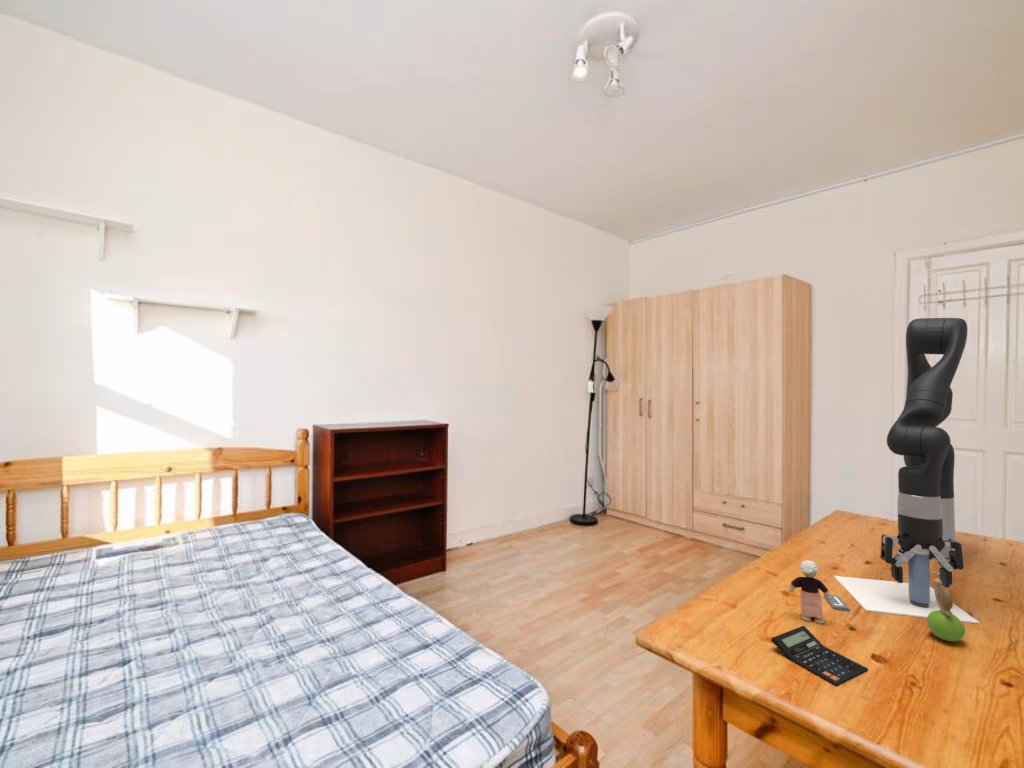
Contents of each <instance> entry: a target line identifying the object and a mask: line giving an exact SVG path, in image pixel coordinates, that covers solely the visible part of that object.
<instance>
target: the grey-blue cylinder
mask: <svg viewBox="0 0 1024 768" xmlns="http://www.w3.org/2000/svg"><path fill="white" fill-rule="evenodd" d="M907 570H908V571H907V573H908V574H907V578H908V579H907V583H908V587H909V599H910V603H911V604H913V605H915V606H918V607H922V608H928V607H929V603H930V587H931V582H930V581H931V580H930V578H931V576H930V575H931V574H930V559H929V549H923V548H921V550H920V551H919V552H917V553H916V554H915V555H914V556H913V557H912V558H911V559H910V560H909V561H907Z"/></svg>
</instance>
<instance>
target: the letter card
mask: <svg viewBox="0 0 1024 768" xmlns="http://www.w3.org/2000/svg"><path fill="white" fill-rule="evenodd" d="M830 596H831V597H832V599H831V600H827V599H826V596H825V595H824V594H823V598H824V599H825V600H826V601H827V603H828V604H829V605H830V606H831V608H832V609H833V610H837V611H847V612H850V607H849V606H848V605H847V604H846V602H845V601H844V600H843V599H842V598H841V597H840V596H839V595H832V594H830Z"/></svg>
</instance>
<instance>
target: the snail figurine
mask: <svg viewBox="0 0 1024 768" xmlns="http://www.w3.org/2000/svg"><path fill="white" fill-rule="evenodd" d="M932 575H933V580H932V581H933V589H934V593H935V598H936V602H937V605H938V606H939V608H940V610H937V611H933V612H931V613H930V614H929V615H928V616H927V618H926V625H927V627H928V629H929V630H930V632H931V633H932V634H933V635H934V636H935V637H938V638H939V639H940V640H943V641H946V642H958V641H961V640H962V639H963V638H964V636H965V634H966V629H965V626H964V624H963V623H964V622H961V621H960V619H959V618H957V617H956V616H955V615H953V614H952V612H951V611H950V609H951V608H952V606H953V604H954V599H953V595H952V593H951V590H949V589H948V588H947V587H944V586H942V582H941V580H940V576H939V575H940V573H939V571H938V572H936V571H932ZM936 575H937V577H936V578H935V576H936Z"/></svg>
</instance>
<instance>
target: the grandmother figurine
mask: <svg viewBox="0 0 1024 768" xmlns="http://www.w3.org/2000/svg"><path fill="white" fill-rule="evenodd" d="M818 569H819V568H818V565H817V563H815V562H814V561H813V560H808V559H807V560H803V561H802V562H801V563H800V564H799V571H801V573H802V574H803V576H798V577H796V578H794V579H793V580H792V581H791V582H790V585H789V587H788V591H789V592H790V593H793V592H794V591H795V589H797V588H800V594H799V595H800V597H799V599H800V611H801V614H800V618H801V619H802V620H803V621H804V622H812V618H813V621H814V623H817V624H824V623H825V622H826V619H825V618H824V616H823V605H822V598H821V593H820V591H821V592H822V594H823V596H824V595H825V596H826V599H827V600H831V599H832V597H831V596H830V595H831V594H830V592H829V589H828V588H827V586H826V585H825V584H824V582H822V581H821V580H819V579H818V578H816V575H817V574H818ZM826 599H825V600H826ZM827 600H826V601H827Z"/></svg>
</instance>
